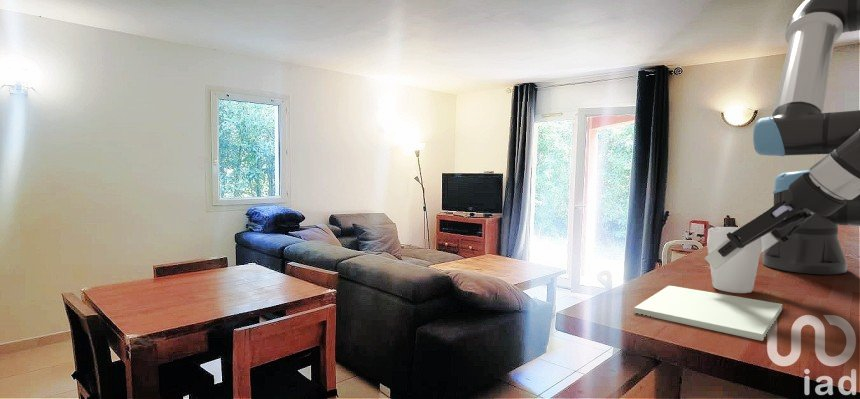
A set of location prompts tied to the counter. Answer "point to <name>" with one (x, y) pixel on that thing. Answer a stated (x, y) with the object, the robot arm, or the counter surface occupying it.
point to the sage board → (712, 311)
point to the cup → (734, 263)
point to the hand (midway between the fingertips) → (728, 258)
